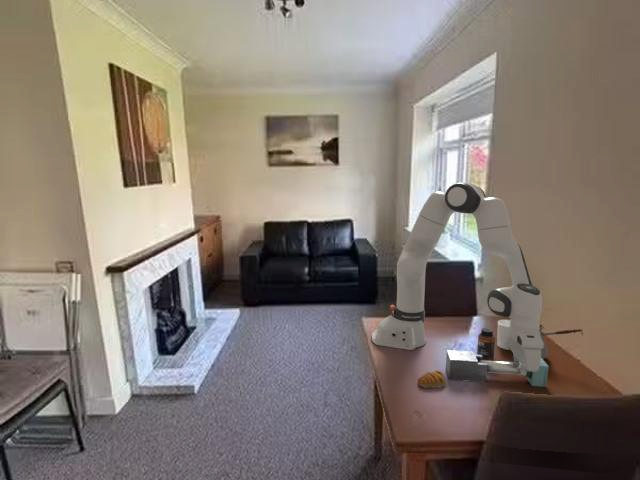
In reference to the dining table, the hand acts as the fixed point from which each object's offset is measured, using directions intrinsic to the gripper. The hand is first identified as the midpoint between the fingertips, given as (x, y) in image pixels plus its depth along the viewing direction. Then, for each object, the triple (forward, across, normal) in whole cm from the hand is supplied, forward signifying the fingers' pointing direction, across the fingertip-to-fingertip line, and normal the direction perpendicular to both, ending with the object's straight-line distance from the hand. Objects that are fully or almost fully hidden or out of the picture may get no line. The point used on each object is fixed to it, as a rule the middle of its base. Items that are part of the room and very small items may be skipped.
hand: (519, 370), depth 135 cm
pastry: (+4, +7, -30) cm, 31 cm away
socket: (+3, 0, +5) cm, 6 cm away
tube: (+2, 0, -3) cm, 4 cm away
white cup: (+4, -26, +4) cm, 27 cm away
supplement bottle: (+4, -15, -7) cm, 17 cm away
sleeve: (+3, 0, -17) cm, 18 cm away
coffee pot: (+4, -16, +15) cm, 22 cm away
